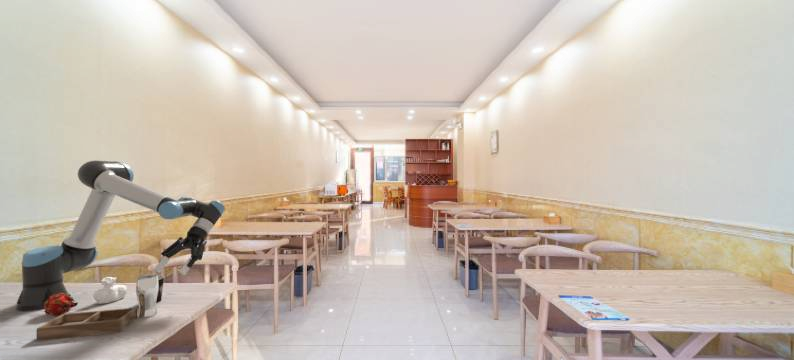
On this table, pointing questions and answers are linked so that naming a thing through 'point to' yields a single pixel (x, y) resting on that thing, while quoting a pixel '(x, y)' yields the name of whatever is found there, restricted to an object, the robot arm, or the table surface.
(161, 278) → the coffee mug
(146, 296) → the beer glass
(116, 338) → the table surface
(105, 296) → the white lumpy irregular piece
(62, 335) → the wooden tray
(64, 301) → the dragon fruit
